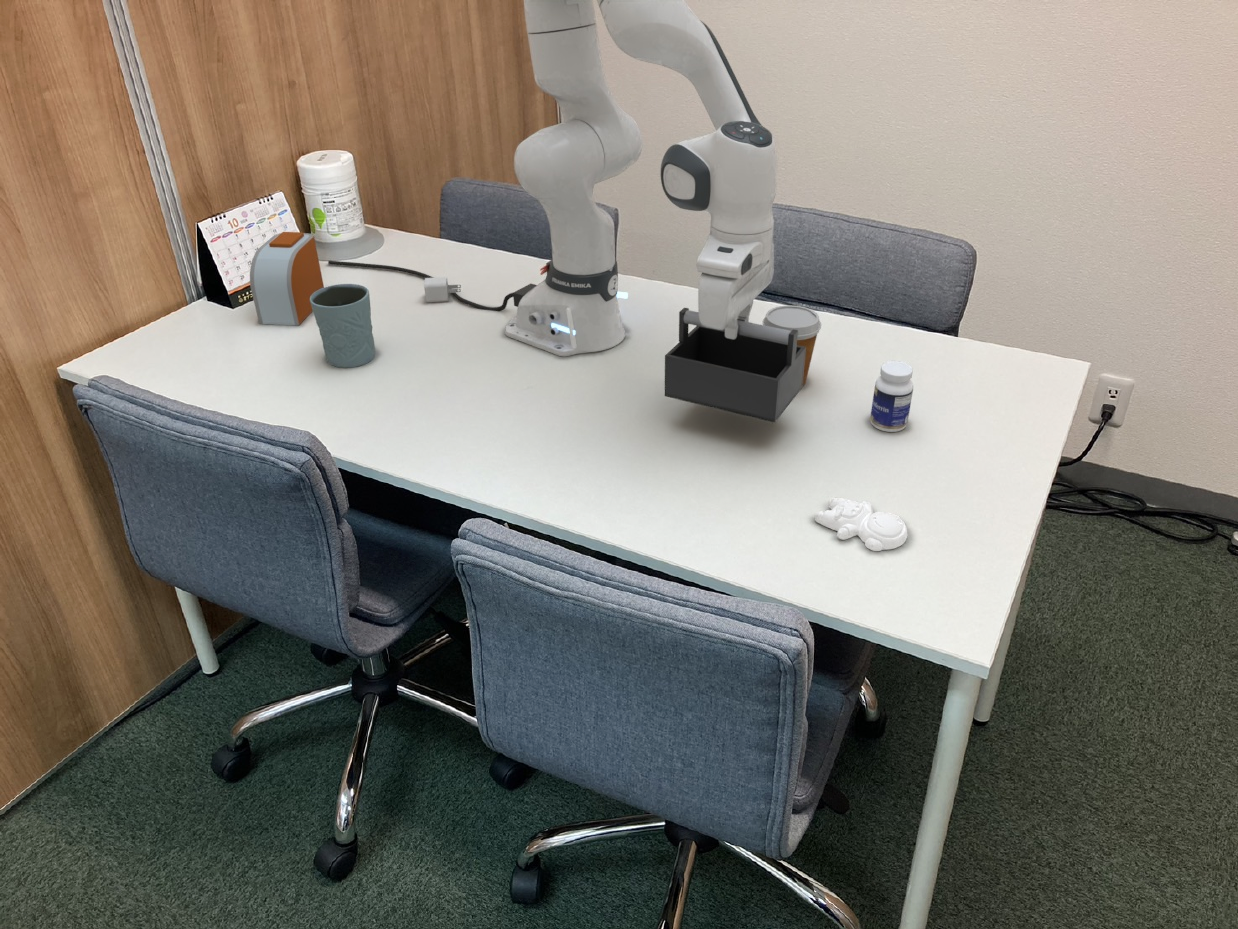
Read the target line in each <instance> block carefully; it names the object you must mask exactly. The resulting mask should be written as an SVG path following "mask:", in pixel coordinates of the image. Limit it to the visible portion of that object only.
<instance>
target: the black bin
mask: <svg viewBox="0 0 1238 929" xmlns="http://www.w3.org/2000/svg"><path fill="white" fill-rule="evenodd" d="M737 323H738V325H740V330H739V332H740V334H739V335H738V336H737V337H736V339H729V338H726V337H725V329H724V330H717V329H712V328H707V327H704V326H702V324H701V322H700V320H699V311H694V310H690V308H689V307H683V308H682V309H681V310H680V311H679V312H678V343H676V345H674V347H672V348H671V349H670V350H669V351H668V352H667V353H666V354H664V397H667V398H671V399H675V400H679V401H684V402H687V403H692V404H695V405H699V406H703V407H708V408H713V409H717V410H721V411H725V412H728V413H732V414H737V415H741V416H745V417H750V418H753V419H758V420H762V421H765V422H770V423H776V422H777V421H778V420H779V418H780V417H781V416H782V414H783V413H784V412H785V411H786V409H787V408H788V406H790V404H791V403H792V402H793V401H794V399H795V397H797V395H798V394H799V392H800V391H801V390H802V388H803V387H802V385H803V374H804V364H805V353H806V347H803V346H799V345H797V336H798V330H794V329H793V330H792V331H789V330H784V329H779V328H774V327H769V326H764V325H763V324H759V323H754V322H749V321H748V322H744V321H740V320H737ZM689 325H693V326H695V327H693V329H691V331H689Z"/></svg>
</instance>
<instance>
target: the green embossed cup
mask: <svg viewBox="0 0 1238 929" xmlns="http://www.w3.org/2000/svg"><path fill="white" fill-rule="evenodd" d="M370 298H371V297H370V290H369V289H368V288H367V287H366V286H364V285H361V284H357V283H356V284H355V283H340V284H339V283H338V284H331V285H327V286H324V288H322V289H319V290H318V291H316V292H314V293H313V294H312V295H311V297H310V303H311V306H312V309H313V311H312V312H313V315H314V320H315V323H316V326H317V327H318V331H319V335H320V337H321V342H322V348H323V352H324V355H325V358H326V361H327V363H328V364H329V365H331V366H332V367H336V368H342V369H350V368H358V367H361V366H364V365H366V364H369V363H370V362H371V361H372V360H373V359H374V358H375V356H376V346H375V338H374V333H373V325H372V317H371V316H372V311H371V310H372V308H371V299H370Z"/></svg>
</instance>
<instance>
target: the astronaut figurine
mask: <svg viewBox="0 0 1238 929" xmlns="http://www.w3.org/2000/svg"><path fill="white" fill-rule="evenodd" d="M828 507H829V509H826V510H819V511H817V512H815V514H814V520H815V522H816V523H817V524H820V525H821V526H824V527H825V528H828V529H830V530H833V531H836V537H837V538H838V539H839V540H842V541H844V540H848V539H850V538H853V537H855V536H858V537H859V538H860V540H861V541H862V542H863V543H865V544H864V545H865V547H866V548H867V549H868V550H870V551H872V552H881V551H885V550H887V551H888V550H893V549H897V548H899V547H901V546H903V545H904V544H905V542H906V541H907V539H908V528H907V525H906V523H905V521H903V520H902V518H901V517H900V516H899V515H897V514H896V513H892V512H891V513H890V512H886V511H875V512H874V509H873V505H872V504H871V503H870V502H869V501H867V500H862V501H861V502H860V501H857V500H853V499H846V498H843V497H839V498H838V497H832V498H830V499H829V500H828Z"/></svg>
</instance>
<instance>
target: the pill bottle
mask: <svg viewBox="0 0 1238 929" xmlns="http://www.w3.org/2000/svg"><path fill="white" fill-rule="evenodd" d="M913 369H914V368H913V367H912V366H911V365H910V364H909V363H907V362H905V361H899V360H887V361H885V362H883V363H882V364H881V366H880V372H879V374H880V376H878V377H877V379H876V380H875V383H874V390H873V397H872V403H871V410H870V417H869V421H870V424H871V425H872V426H873V427H874V428H875V429H878V430H880V431H883V432H888V433H894V432H900V431H902V430H904V429H906V427H907V425H908V422H909V416H910V412H911V411H910V410H911V404H912V399H913V392H914V383H913V381H912V380H911V379H912V378H913V371H914V370H913Z"/></svg>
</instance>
